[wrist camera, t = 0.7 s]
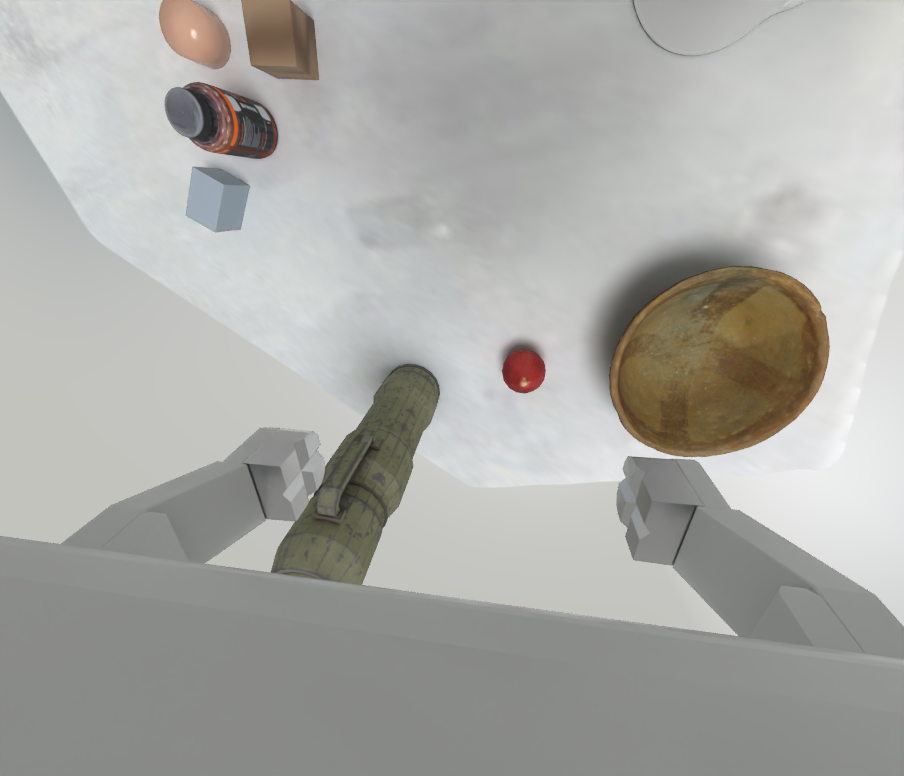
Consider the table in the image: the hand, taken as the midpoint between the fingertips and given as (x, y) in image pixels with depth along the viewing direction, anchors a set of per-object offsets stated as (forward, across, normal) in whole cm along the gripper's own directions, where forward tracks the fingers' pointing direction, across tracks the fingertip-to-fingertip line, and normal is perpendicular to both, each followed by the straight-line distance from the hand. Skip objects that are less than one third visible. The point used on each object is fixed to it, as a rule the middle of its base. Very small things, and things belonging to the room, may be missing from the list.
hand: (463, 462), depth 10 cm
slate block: (+43, +37, -6) cm, 57 cm away
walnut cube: (+43, +24, -21) cm, 53 cm away
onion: (+43, -4, +15) cm, 46 cm away
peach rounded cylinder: (+43, +34, -22) cm, 59 cm away
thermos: (+43, +13, +21) cm, 50 cm away
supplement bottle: (+43, +31, -14) cm, 55 cm away
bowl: (+43, -24, +12) cm, 51 cm away
